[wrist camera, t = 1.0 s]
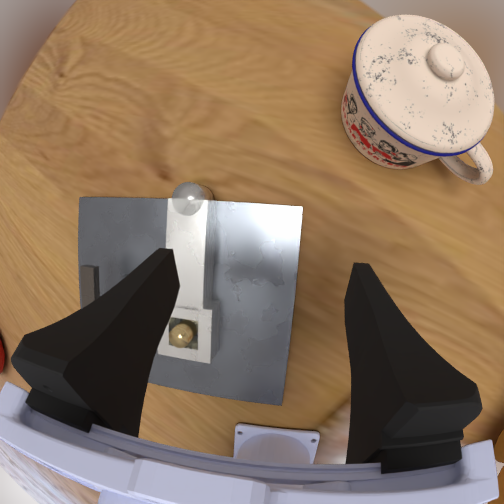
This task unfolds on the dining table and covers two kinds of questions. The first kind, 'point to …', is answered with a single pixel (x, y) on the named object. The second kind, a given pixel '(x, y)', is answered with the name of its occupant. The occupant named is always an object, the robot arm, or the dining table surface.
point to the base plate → (224, 287)
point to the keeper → (89, 284)
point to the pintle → (183, 333)
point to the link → (193, 270)
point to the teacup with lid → (418, 98)
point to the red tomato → (1, 357)
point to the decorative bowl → (502, 454)
